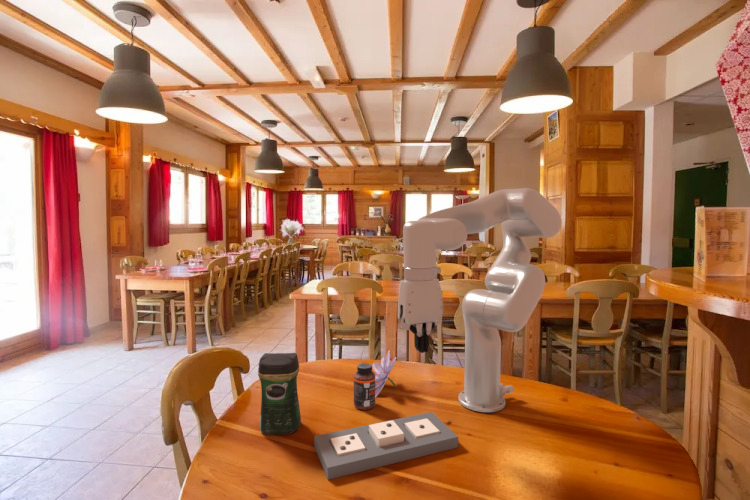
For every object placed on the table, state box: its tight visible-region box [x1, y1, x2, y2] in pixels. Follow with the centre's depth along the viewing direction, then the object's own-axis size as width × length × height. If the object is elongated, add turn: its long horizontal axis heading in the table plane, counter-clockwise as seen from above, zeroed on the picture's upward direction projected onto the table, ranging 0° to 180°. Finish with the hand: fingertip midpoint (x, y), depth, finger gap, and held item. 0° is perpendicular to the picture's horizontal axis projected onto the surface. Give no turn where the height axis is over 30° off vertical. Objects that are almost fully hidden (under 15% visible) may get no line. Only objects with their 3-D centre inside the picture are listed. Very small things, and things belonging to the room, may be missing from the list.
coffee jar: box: [257, 352, 302, 435], centre depth 96 cm, size 10×8×19 cm
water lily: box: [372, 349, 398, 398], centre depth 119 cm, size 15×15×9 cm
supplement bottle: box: [353, 362, 376, 411], centre depth 107 cm, size 6×6×11 cm
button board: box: [313, 411, 459, 481], centre depth 88 cm, size 30×12×2 cm, turn 111°
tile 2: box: [368, 419, 404, 447], centre depth 88 cm, size 6×6×3 cm
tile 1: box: [405, 418, 440, 439], centre depth 92 cm, size 6×6×3 cm
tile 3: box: [331, 433, 365, 457], centre depth 85 cm, size 6×6×3 cm
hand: (421, 350), depth 93 cm, fingers closed
